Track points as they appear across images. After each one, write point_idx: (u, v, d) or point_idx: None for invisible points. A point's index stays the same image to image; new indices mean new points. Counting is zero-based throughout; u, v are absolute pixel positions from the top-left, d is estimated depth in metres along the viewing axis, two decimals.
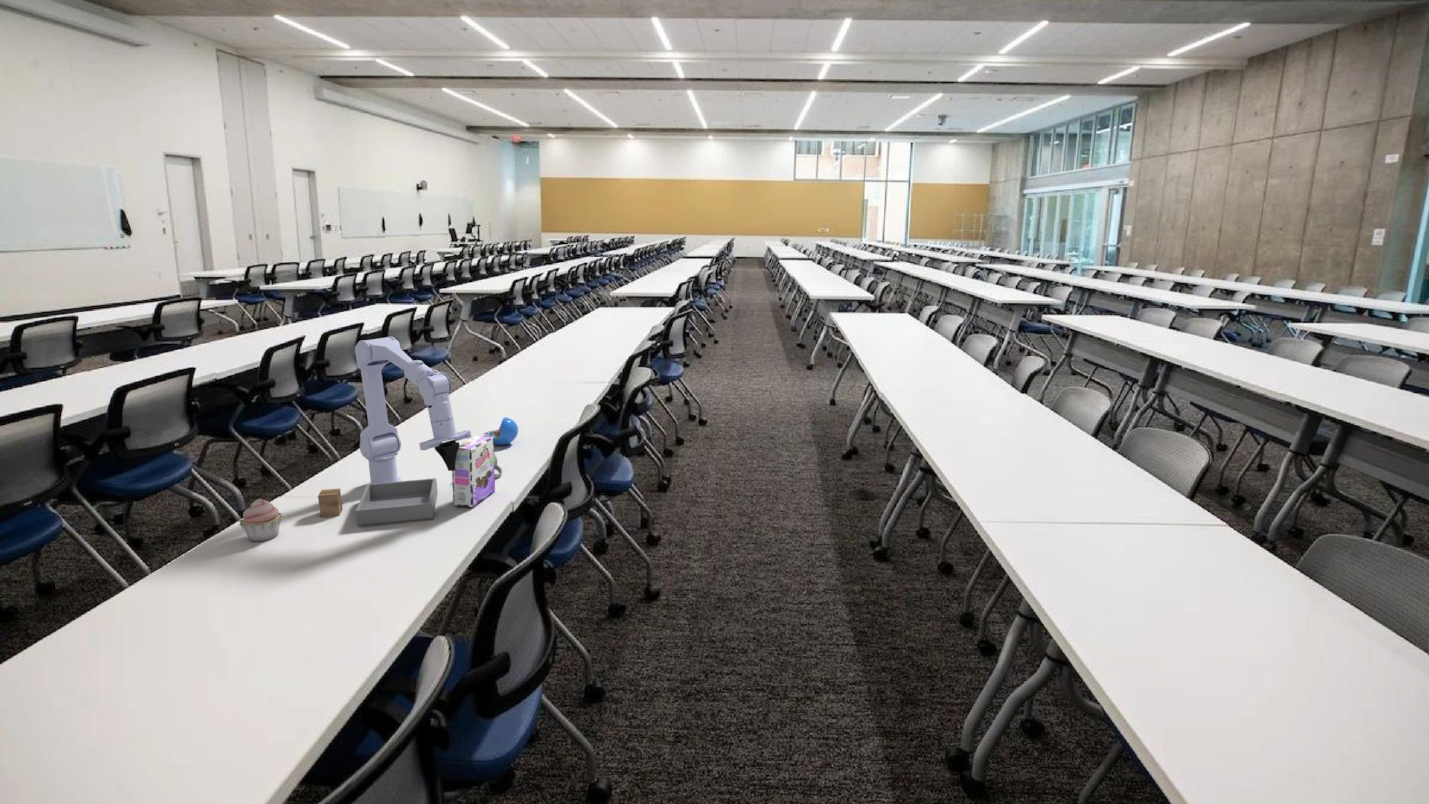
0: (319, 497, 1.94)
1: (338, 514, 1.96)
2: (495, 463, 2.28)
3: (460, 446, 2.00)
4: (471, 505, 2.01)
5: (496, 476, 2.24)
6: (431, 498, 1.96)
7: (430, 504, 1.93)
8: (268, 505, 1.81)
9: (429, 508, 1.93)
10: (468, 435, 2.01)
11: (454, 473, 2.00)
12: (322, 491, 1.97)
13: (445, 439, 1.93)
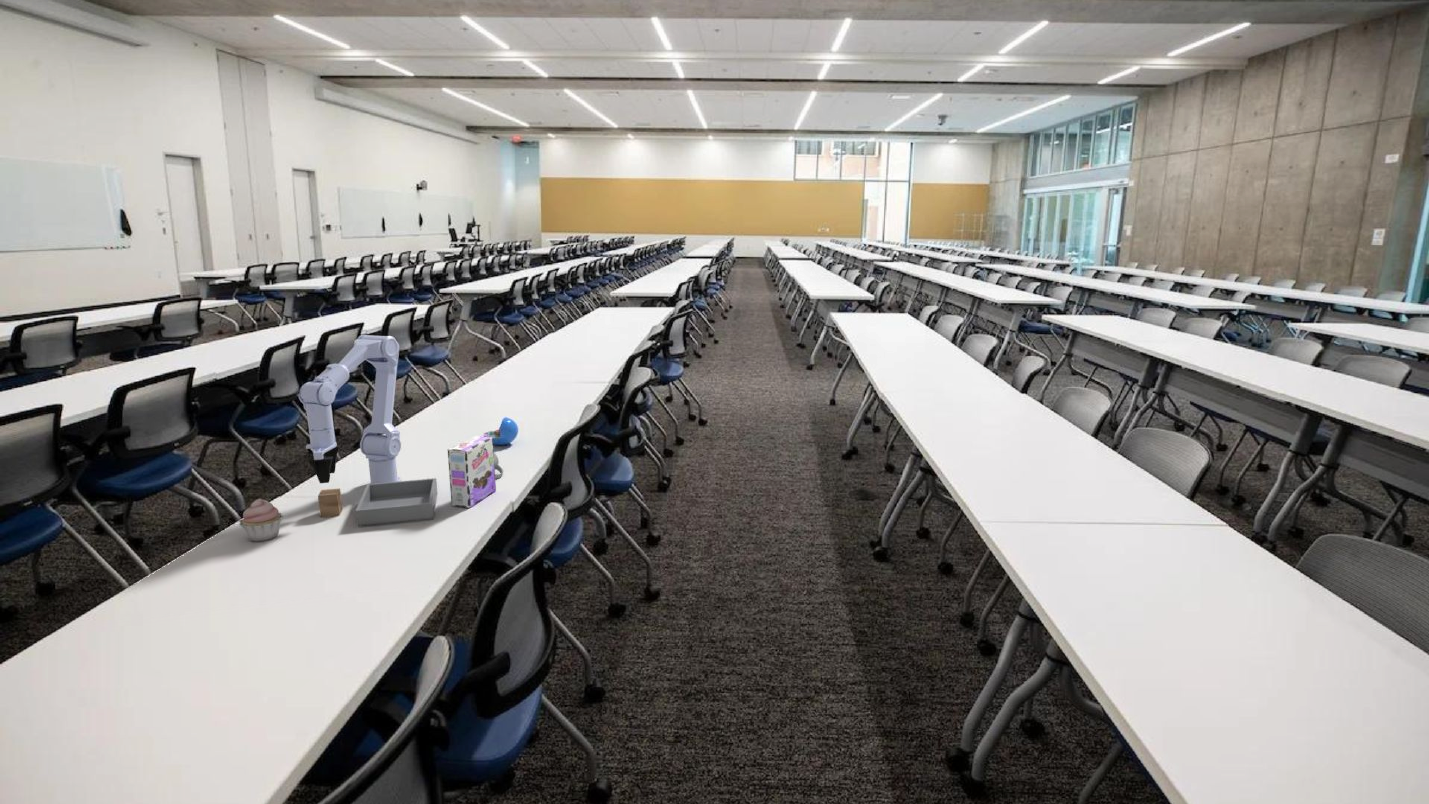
0: (319, 497, 1.94)
1: (338, 514, 1.96)
2: (496, 463, 2.28)
3: (456, 447, 2.00)
4: (468, 506, 2.01)
5: (497, 476, 2.24)
6: (431, 498, 1.96)
7: (430, 504, 1.93)
8: (268, 505, 1.81)
9: (429, 508, 1.93)
10: None
11: (451, 474, 2.00)
12: (322, 491, 1.96)
13: None
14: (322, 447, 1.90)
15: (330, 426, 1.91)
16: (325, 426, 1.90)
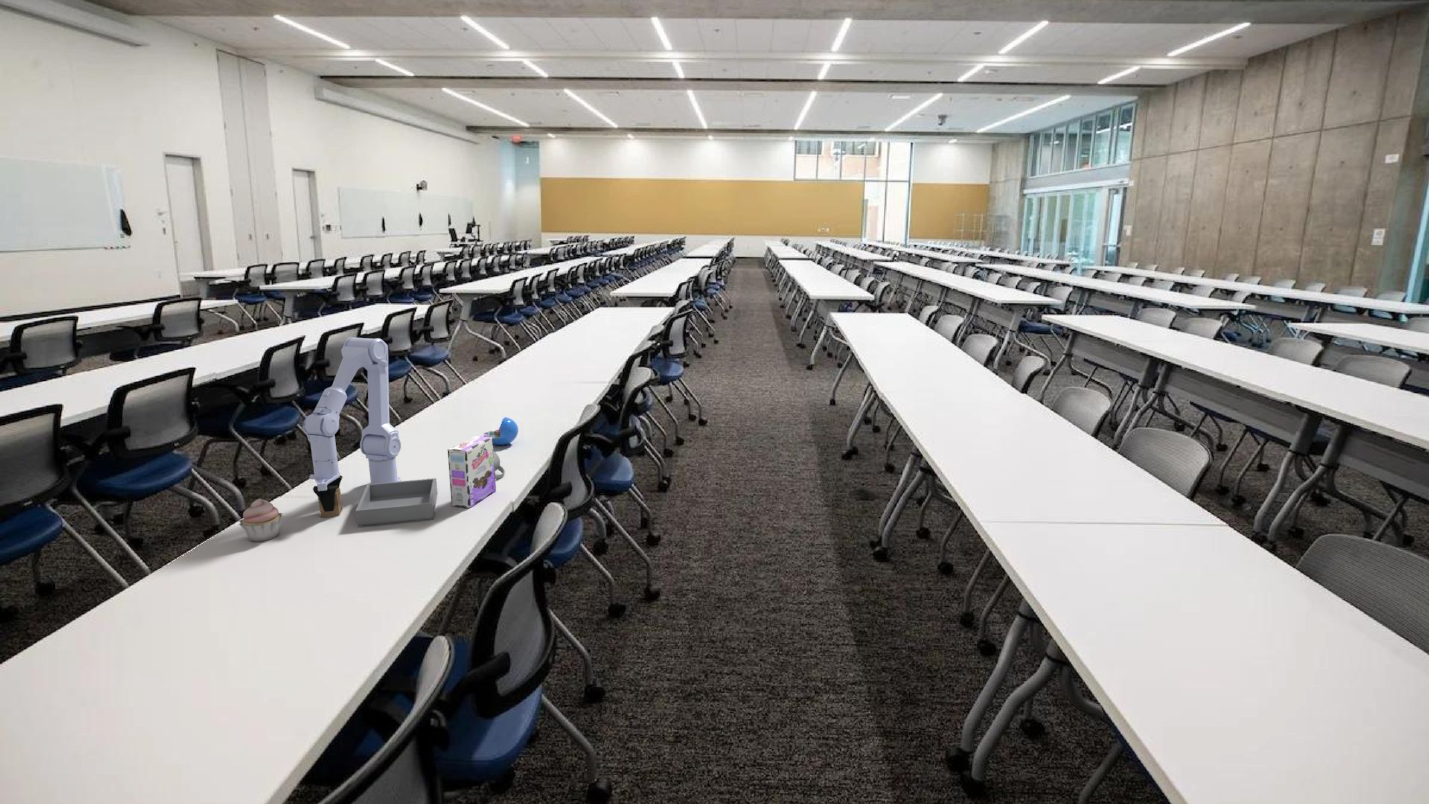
0: None
1: (338, 514, 1.96)
2: (498, 463, 2.28)
3: (456, 447, 2.00)
4: (468, 506, 2.01)
5: (499, 476, 2.24)
6: (431, 498, 1.96)
7: (430, 504, 1.93)
8: (268, 505, 1.81)
9: (429, 508, 1.93)
10: None
11: (451, 474, 2.00)
12: None
13: None
14: (326, 478, 1.92)
15: (334, 457, 1.93)
16: (329, 457, 1.92)
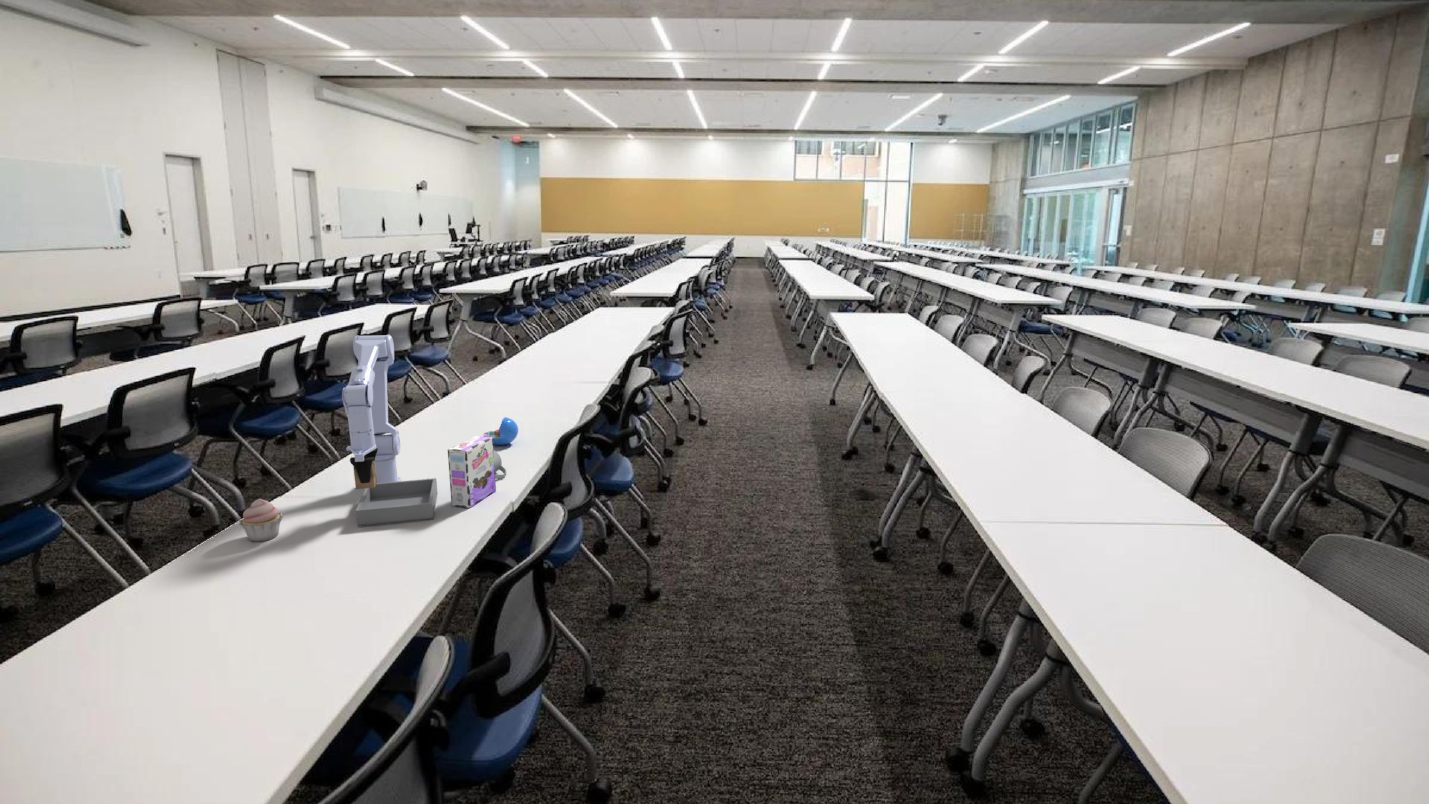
0: (354, 469, 1.93)
1: (373, 486, 1.96)
2: (499, 463, 2.27)
3: (456, 447, 2.00)
4: (468, 506, 2.01)
5: (500, 476, 2.24)
6: (431, 498, 1.96)
7: (430, 504, 1.93)
8: (268, 505, 1.81)
9: (429, 508, 1.93)
10: None
11: (451, 474, 2.00)
12: None
13: None
14: (362, 449, 1.92)
15: (373, 427, 1.94)
16: (370, 427, 1.93)
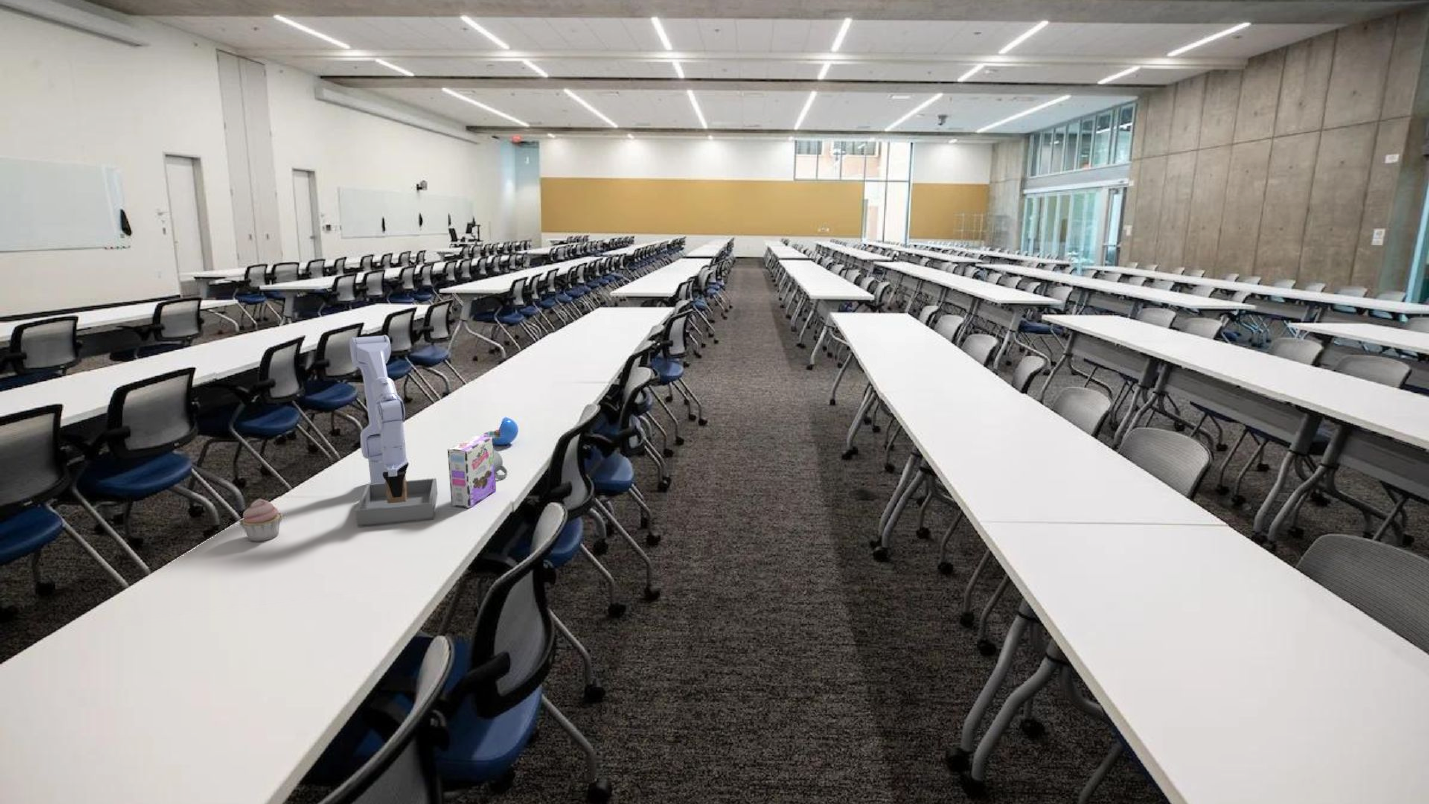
0: (386, 483, 1.96)
1: (404, 500, 1.98)
2: (500, 464, 2.27)
3: (456, 447, 2.00)
4: (468, 506, 2.01)
5: (501, 477, 2.24)
6: (431, 498, 1.96)
7: (430, 504, 1.93)
8: (268, 505, 1.81)
9: (429, 508, 1.93)
10: None
11: (451, 474, 2.00)
12: None
13: None
14: (395, 464, 1.94)
15: None
16: (404, 441, 1.96)
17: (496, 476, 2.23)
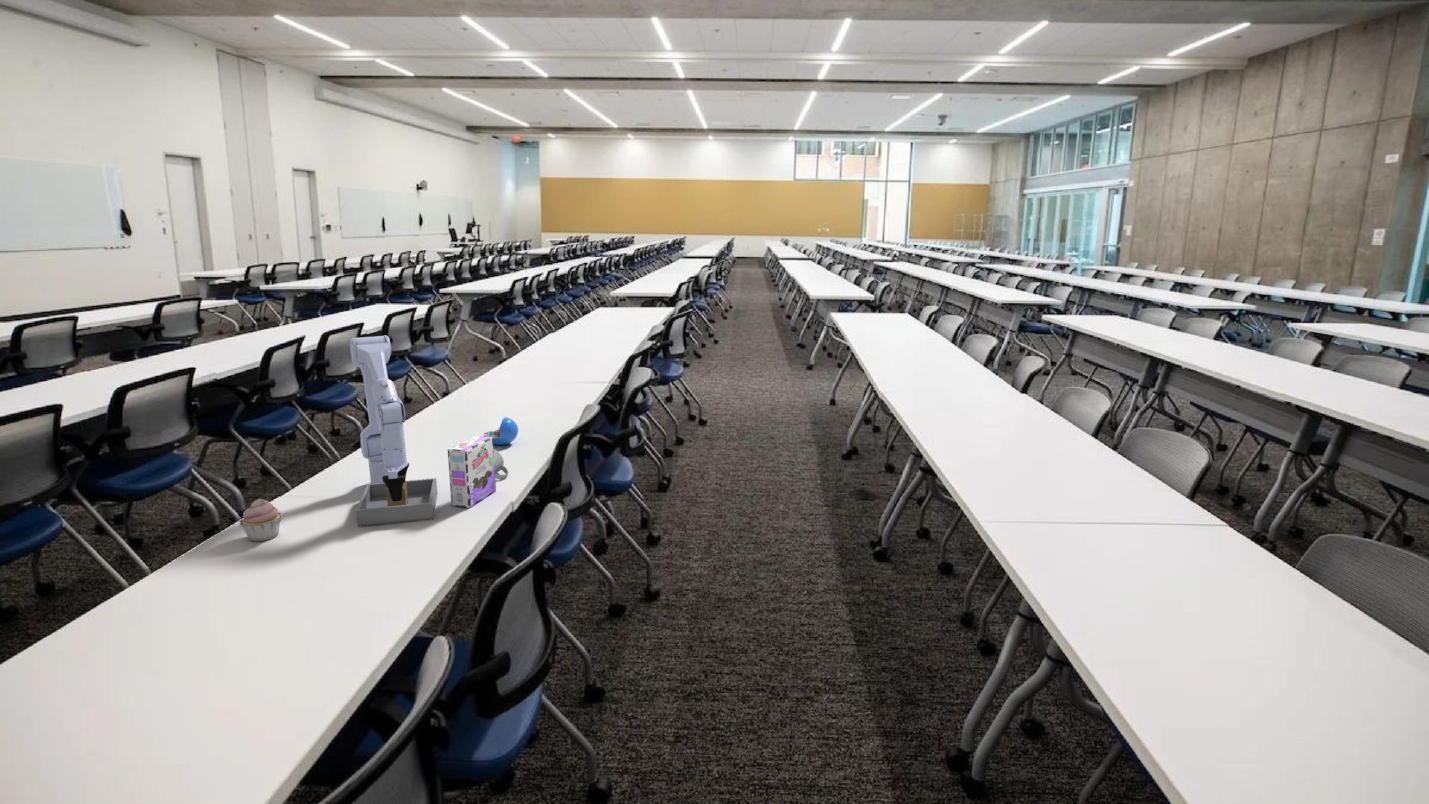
0: (387, 491, 1.96)
1: None
2: (501, 464, 2.27)
3: (456, 447, 2.00)
4: (468, 506, 2.01)
5: (502, 477, 2.24)
6: (431, 498, 1.96)
7: (430, 504, 1.93)
8: (268, 505, 1.81)
9: (429, 508, 1.93)
10: None
11: (451, 474, 2.00)
12: None
13: None
14: (395, 466, 1.95)
15: None
16: (404, 443, 1.96)
17: (497, 476, 2.23)
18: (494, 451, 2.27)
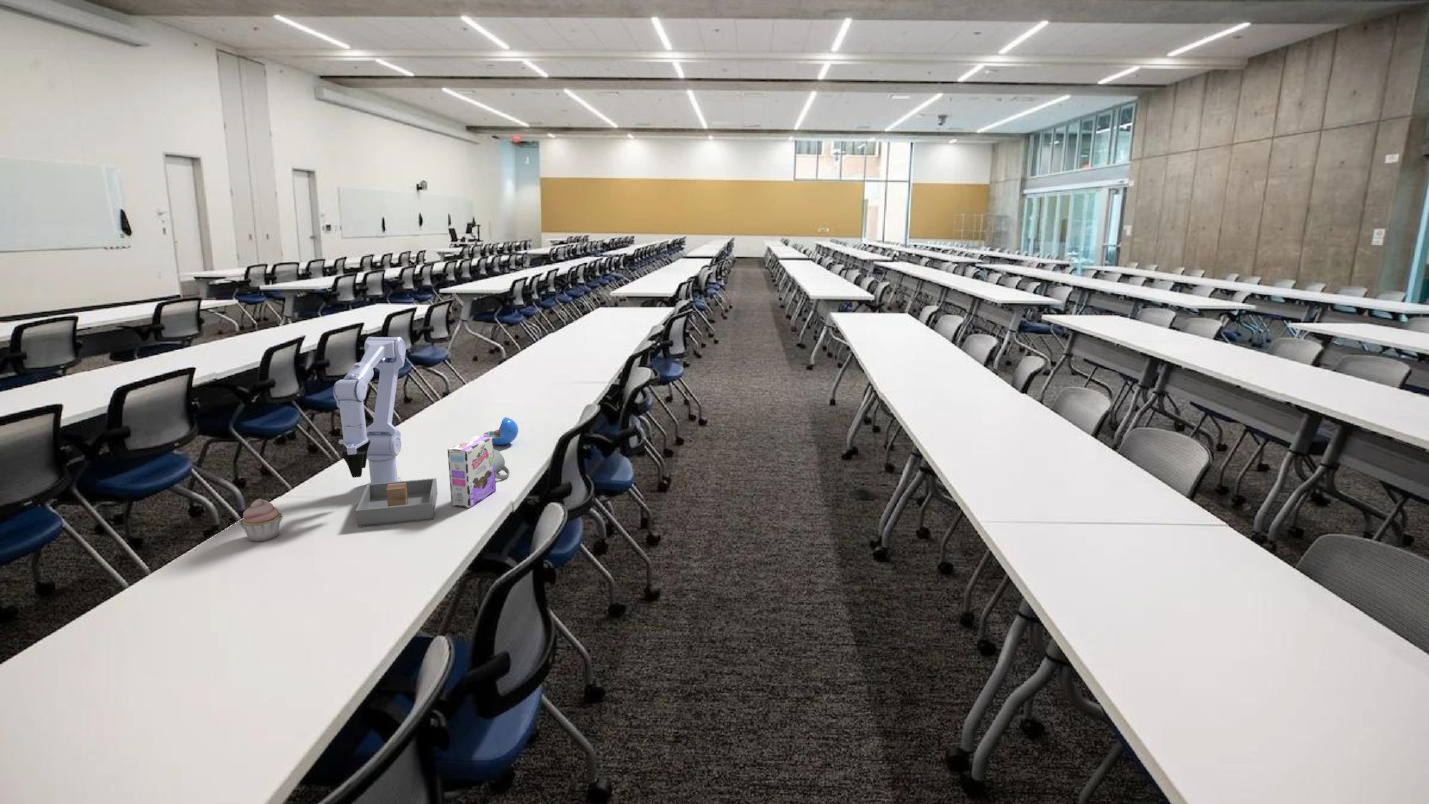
0: (387, 491, 1.96)
1: None
2: (502, 464, 2.27)
3: (456, 447, 2.00)
4: (468, 506, 2.01)
5: (503, 477, 2.23)
6: (431, 498, 1.96)
7: (430, 504, 1.93)
8: (268, 505, 1.81)
9: (429, 508, 1.93)
10: None
11: (451, 474, 2.00)
12: (389, 485, 1.99)
13: None
14: (355, 442, 1.96)
15: (364, 421, 1.98)
16: (360, 421, 1.96)
17: (498, 476, 2.23)
18: (495, 451, 2.27)
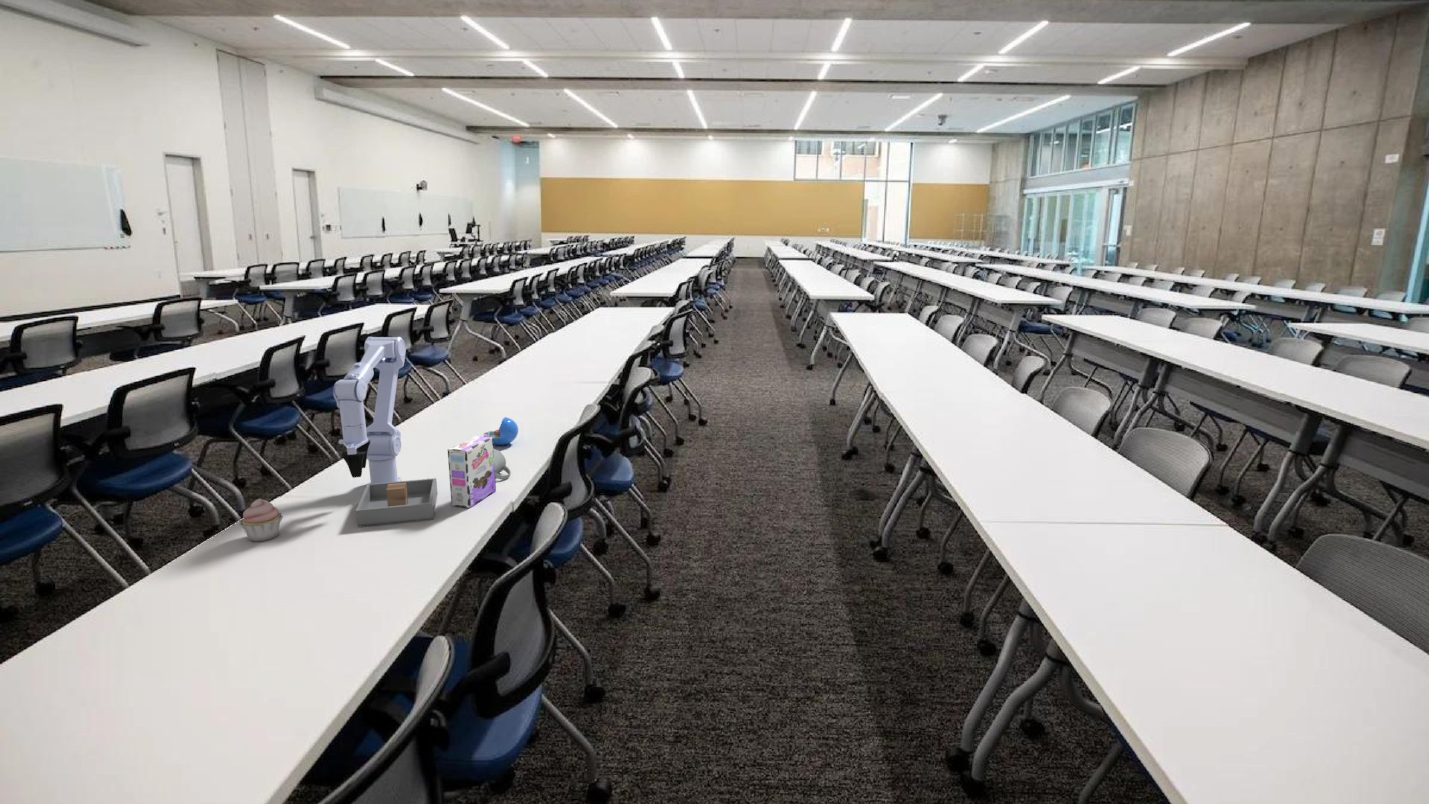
0: (387, 491, 1.96)
1: None
2: (503, 464, 2.27)
3: (456, 447, 2.00)
4: (468, 506, 2.01)
5: (505, 477, 2.23)
6: (431, 498, 1.96)
7: (430, 504, 1.93)
8: (268, 505, 1.81)
9: (429, 508, 1.93)
10: None
11: (451, 474, 2.00)
12: (389, 485, 1.99)
13: None
14: (355, 442, 1.96)
15: (364, 421, 1.98)
16: (360, 421, 1.96)
17: (499, 476, 2.22)
18: (496, 451, 2.27)
